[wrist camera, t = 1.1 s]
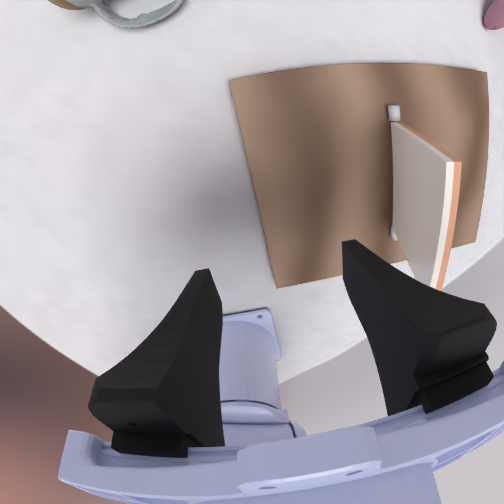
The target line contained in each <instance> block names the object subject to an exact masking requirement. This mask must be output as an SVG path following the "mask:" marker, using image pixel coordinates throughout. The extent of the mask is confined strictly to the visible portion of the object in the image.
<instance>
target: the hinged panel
mask: <svg viewBox="0 0 504 504" xmlns="http://www.w3.org/2000/svg"><path fill="white" fill-rule="evenodd" d="M388 114H389V120H390V121H400V120H401V118H400V106H399V105H388ZM391 133H392V151H393V223H392V225H391V237H390V238H391V239H392V240H394V241H397V240H398V241H399V243H400V245H401V247H402V250H403V252H404V254H405V256H406V258H407V261H408V263H409V265H410V267H411V270H412V272H413V274H414V277H415V279H416V280H417V281H419V282H421V283H423V284H425V285H427V286H430V287H432V288H434V289H437V290H439V291H441V289H442V286H443V282H444V278H445V273H446V269H447V265H448V260H449V255H450V250H451V245H452V240H453V234H454V228H455V222H456V215H457V208H458V200H459V191H460V180H461V166H462V162H461V161H460V160H459V159H457V158H456V157H454V156H453V155H452V154H450V153H449V152H447V151H446V150H445V149H443V148H442V147H440V146H439V145H437V144H436V143H434V142H433V141H431V140H430V139H428V138H427V137H425V136H424V135H422V134H421V133H419V132H417V131H416V130H414V129H412V128H411V127H409V126H408V125H406V124H404V123H402V122H391Z"/></svg>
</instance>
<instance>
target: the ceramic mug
mask: <svg viewBox="0 0 504 504" xmlns="http://www.w3.org/2000/svg"><path fill="white" fill-rule="evenodd" d="M48 1H50V2H51V3H53V4H55V5H57V6H59V7H62V8H65V9H69V10H82V9H85V8H88V7H94V9H95V11H96V12H97V13H98V14H99V16H100V17H102V18H103V19H105V20H106V21H107V22H109V23H111V24H113V25H116V26H119V27H126V28H138V27H144V26H148V25H150V24H153V23H156V22H158V21H160V20H162V19H164V18H166V17H168V16H169V15H171V14H172V13H174V12H175V11H176V10H177V9H178V8H179V7H180V5H181V4H182V3H183V1H184V0H175V1H174V2H172V3H170V4H168V5H166V6H164V7H162V8H160V9H158V10H156V11H153V12H151V13H148V14H141V15H140V16H138V17H137V18H134V19H127V18H122V17H120V16H118V15H117V14H115V13H113V12H112V11H111V10H110V9H109V8H107V6H106V5H105V4H104V3H103V0H48Z"/></svg>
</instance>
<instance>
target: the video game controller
mask: <svg viewBox="0 0 504 504" xmlns="http://www.w3.org/2000/svg"><path fill="white" fill-rule="evenodd" d="M484 25H485V26H486V27H487V28H488V29H490V30H497V29H499V28H502V27H503V26H504V0H495V1H494V2H493V3H492V5H491V6H490V7H489V8H488V10H487V11H486V14H485V16H484Z"/></svg>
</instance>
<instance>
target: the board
mask: <svg viewBox="0 0 504 504" xmlns="http://www.w3.org/2000/svg"><path fill="white" fill-rule="evenodd" d="M229 84H230V88H231V92H232V96H233V100H234V104H235V108H236V113H237V117H238V121H239V125H240V129H241V134H242V138H243V142H244V146H245V151H246V155H247V159H248V163H249V168H250V172H251V176H252V181H253V185H254V189H255V194H256V198H257V203H258V207H259V212H260V216H261V220H262V225H263V229H264V234H265V238H266V243H267V248H268V252H269V257H270V261H271V266H272V270H273V275H274V280H275V284H276V289H277V288H282V287H287V286H292V285H297V284H302V283H307V282H311V281H316V280H321V279H326V278H330V277H335V276H339V275H343V264H342V242H343V241H348V240H353V239H356V240H357V241H358V242H360V243H361V244H362V245H364V246H365V247H366V248H368V249H369V250H371V251H372V252H373V253H375V254H376V255H377V256H379V257H380V258H382V259H383V260H384V261H386V262H387V263H389V264H392V263H396V262H400V261H404V260H407V258H406V256H405V254H404V252H403V250H402V247H401V245H400V243H399V241H398V240H397V241H394V240H392V239H391V238H390V237H391V225H392V223H393V151H392V133H391V122H402V123H404V124H406V125H408V126H409V127H411V128H412V129H414V130H416V131H417V132H419V133H421V134H422V135H424V136H425V137H427V138H428V139H430V140H431V141H433V142H434V143H436V144H437V145H439V146H440V147H442V148H443V149H445V150H446V151H447V152H449V153H450V154H452V155H453V156H454V157H456V158H457V159H459V160H460V161H461V162H462V166H461V180H460V191H459V200H458V208H457V215H456V222H455V228H454V234H453V240H452V245H451V248H455V247H458V246H462V245H466V244H469V243H473V242H475V240H476V235H477V231H478V226H479V220H480V215H481V209H482V203H483V196H484V189H485V180H486V171H487V159H488V142H489V97H488V80H487V72H482V71H477V70H470V69H463V68H456V67H447V66H438V65H425V64H408V63H356V64H338V65H325V66H314V67H305V68H297V69H290V70H283V71H276V72H270V73H264V74H259V75H253V76H248V77H243V78H239V79H234V80H229ZM388 105H399V106H400V118H401V120H400V121H390V120H389V114H388Z"/></svg>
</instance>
